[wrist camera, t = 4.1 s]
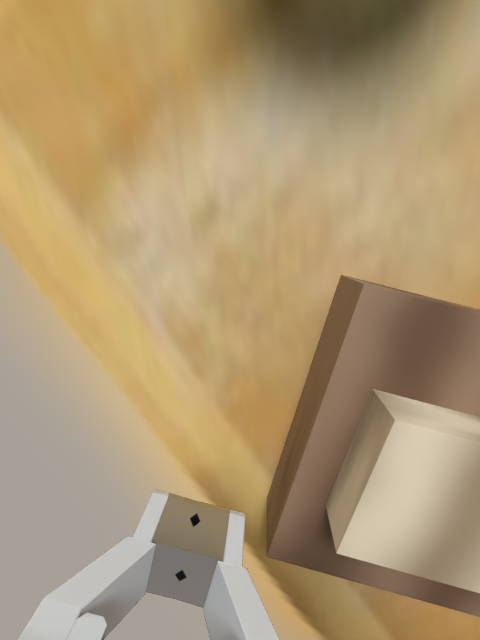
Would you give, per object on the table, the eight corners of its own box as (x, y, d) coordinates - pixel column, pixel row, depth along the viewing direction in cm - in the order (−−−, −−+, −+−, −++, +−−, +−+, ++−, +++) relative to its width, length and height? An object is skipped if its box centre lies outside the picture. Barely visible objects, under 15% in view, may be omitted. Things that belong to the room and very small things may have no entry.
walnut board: (704, 366, 16) (845, 405, 12) (552, 576, 20) (620, 656, 16) (341, 274, 16) (364, 284, 13) (267, 498, 21) (266, 556, 17)
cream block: (588, 445, 13) (659, 489, 11) (514, 557, 15) (561, 616, 13) (372, 388, 14) (394, 419, 11) (325, 505, 16) (336, 553, 13)
